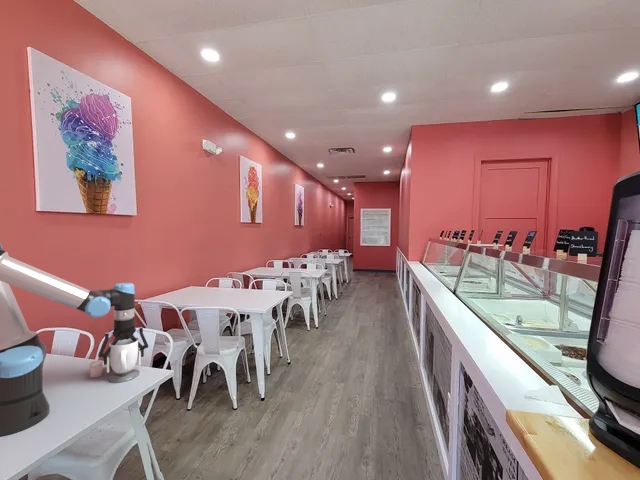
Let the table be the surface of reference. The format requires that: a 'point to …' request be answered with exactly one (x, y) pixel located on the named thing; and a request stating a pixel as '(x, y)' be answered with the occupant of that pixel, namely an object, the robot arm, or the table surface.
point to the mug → (123, 355)
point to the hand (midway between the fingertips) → (124, 367)
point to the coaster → (124, 376)
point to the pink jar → (96, 368)
